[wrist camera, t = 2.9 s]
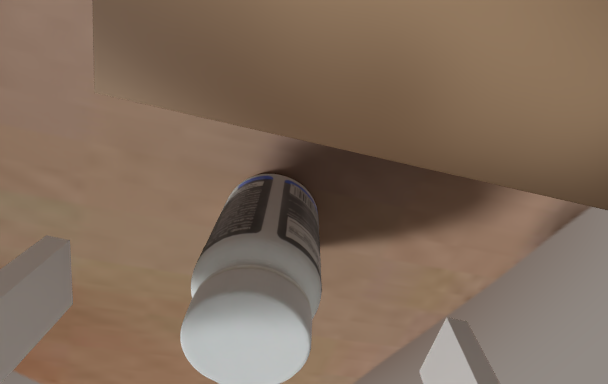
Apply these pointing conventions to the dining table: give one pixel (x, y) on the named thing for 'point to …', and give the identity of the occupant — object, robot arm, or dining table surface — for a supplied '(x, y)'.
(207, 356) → the pill bottle
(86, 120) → the dining table surface
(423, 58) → the small wooden bench
